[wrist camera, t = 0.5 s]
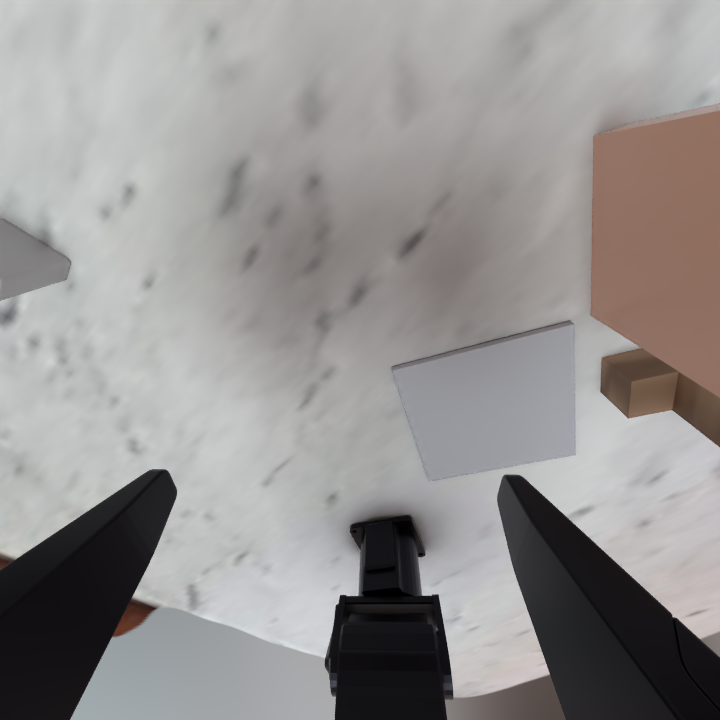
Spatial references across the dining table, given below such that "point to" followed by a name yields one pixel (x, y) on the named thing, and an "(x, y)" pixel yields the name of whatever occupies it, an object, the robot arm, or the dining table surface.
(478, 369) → the mat
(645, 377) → the brown stepped wooden block
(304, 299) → the dining table surface
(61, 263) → the lighter
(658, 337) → the tile
